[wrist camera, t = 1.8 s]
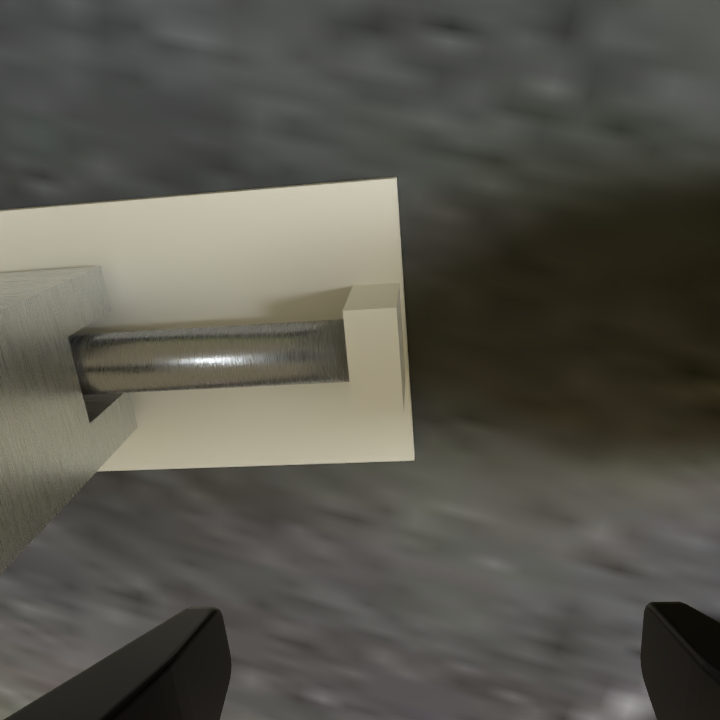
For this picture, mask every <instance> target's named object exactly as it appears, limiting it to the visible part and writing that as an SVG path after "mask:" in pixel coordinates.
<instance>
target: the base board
mask: <svg viewBox="0 0 720 720" xmlns="http://www.w3.org/2000/svg"><path fill="white" fill-rule="evenodd" d="M93 266H101V268H102V272H103V277H104V281H105V286H106V290H107V294H108V299H109V303H110V308H111V311H110V312H108V313H107V314H105V315H103V316H102V317H100V318H98V319H97V320H95V321H93V322H92V323H90V324H88V325H87V326H85V327H83V328H82V329H80V330H78V331H77V332H75V333H73V334H72V335H83V334H100V333H117V332H134V331H151V330H167V329H184V328H201V327H218V326H235V325H251V324H268V323H285V322H302V321H319V320H336V319H343V321H344V331H345V341H346V351H347V361H348V371H349V381H350V382H339V383H318V384H298V385H277V386H256V387H236V388H215V389H194V390H174V391H153V392H133V393H130V396H131V401H132V405H133V409H134V414H135V418H136V423H137V427H138V428H137V429H136V430H135V431H134V432H133V433H132V434H131V435H130V436H129V437H128V438H127V440H126V441H125V442H124V443H123V444H122V445H121V446H120V447H119V448H118V449H117V450H116V451H115V452H114V453H113V455H112V456H111V457H110V458H109V459H108V460H107V461H106V462H105V463H104V464H103V465H102V466H101V467H100V469H99V470H98V471H123V470H152V469H181V468H210V467H239V466H269V465H298V464H327V463H356V462H385V461H414V453H415V451H414V436H413V420H412V405H411V390H410V374H409V359H408V343H407V328H406V312H405V297H404V281H403V266H402V250H401V235H400V219H399V204H398V188H397V177H387V178H375V179H363V180H351V181H339V182H327V183H315V184H303V185H291V186H279V187H267V188H255V189H243V190H231V191H219V192H207V193H195V194H183V195H171V196H159V197H147V198H135V199H124V200H112V201H100V202H88V203H76V204H64V205H52V206H40V207H28V208H16V209H4V210H0V273H9V272H23V271H37V270H51V269H65V268H79V267H93Z"/></svg>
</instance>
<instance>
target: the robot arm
mask: <svg viewBox="0 0 720 720" xmlns="http://www.w3.org/2000/svg"><path fill="white" fill-rule="evenodd" d="M641 669H642V674H643V679H644V682H645V685H646V688H647V691H648V694H649V697H650V700H651V703H652V706H653V709H654V712H655V715H656V718H657V720H720V622H718V621H716V620H714V619H712V618H711V617H709V616H707V615H705V614H703V613H701V612H700V611H698V610H696V609H694V608H692V607H690V606H689V605H687V604H685V603H682V602H650V603H649V604H648V605H647V606H646V608H645V611H644V619H643V631H642V644H641ZM230 675H231V655H230V650H229V645H228V640H227V635H226V630H225V625H224V620H223V616H222V613H221V611H220V610H219V609H218V608H217V607H190V608H187V609H185V610H183V611H182V612H180V613H178V614H177V615H175V616H173V617H172V618H170V619H168V620H167V621H165V622H163V623H162V624H160V625H159V626H157V627H155V628H154V629H152V630H150V631H149V632H147V633H145V634H144V635H142V636H140V637H139V638H137V639H136V640H134V641H132V642H131V643H129V644H127V645H126V646H124V647H122V648H121V649H119V650H117V651H116V652H114V653H113V654H111V655H109V656H108V657H106V658H104V659H103V660H101V661H99V662H98V663H96V664H94V665H93V666H91V667H90V668H88V669H86V670H85V671H83V672H81V673H80V674H78V675H76V676H75V677H73V678H71V679H70V680H68V681H66V682H65V683H63V684H62V685H60V686H58V687H57V688H55V689H53V690H52V691H50V692H48V693H47V694H45V695H43V696H42V697H40V698H39V699H37V700H35V701H34V702H32V703H30V704H29V705H27V706H25V707H24V708H22V709H20V710H19V711H17V712H16V713H14V714H12V715H11V716H9V717H7V718H6V719H4V720H220V716H221V712H222V709H223V705H224V701H225V697H226V693H227V689H228V685H229V681H230Z"/></svg>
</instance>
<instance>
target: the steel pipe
mask: <svg viewBox="0 0 720 720" xmlns="http://www.w3.org/2000/svg"><path fill="white" fill-rule="evenodd" d="M68 340H69V344H70V348H71V352H72V356H73V359H74V363H75V367H76V371H77V375H78V379H79V383H80V387H81V391H82V395H91V394H112V393H133V392H153V391H174V390H194V389H215V388H236V387H256V386H277V385H298V384H318V383H339V382H350V381H349V371H348V361H347V351H346V341H345V331H344V321H343V319H336V320H319V321H302V322H285V323H268V324H251V325H235V326H218V327H201V328H184V329H167V330H151V331H134V332H117V333H100V334H83V335H70V336H68Z"/></svg>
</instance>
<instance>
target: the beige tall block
mask: <svg viewBox="0 0 720 720" xmlns="http://www.w3.org/2000/svg"><path fill="white" fill-rule="evenodd" d="M110 311H111V308H110V303H109V299H108V294H107V290H106V286H105V281H104V277H103V272H102V268H101V266H93V267H79V268H65V269H51V270H37V271H23V272H9V273H0V575H1V574H2V573H3V572H4V570H5V569H6V568H7V567H8V566H9V565H10V564H11V563H12V562H13V561H14V560H15V559H16V558H17V557H18V555H19V554H20V553H21V552H22V551H23V550H24V549H25V548H26V547H27V546H28V545H29V544H30V543H31V541H32V540H33V539H34V538H35V537H36V536H37V535H38V534H39V533H40V532H41V531H42V530H43V529H44V528H45V526H46V525H47V524H48V523H49V522H50V521H51V520H52V519H53V518H54V517H55V516H56V515H57V514H58V513H59V511H60V510H61V509H62V508H63V507H64V506H65V505H66V504H67V503H68V502H69V501H70V500H71V499H72V497H73V496H74V495H75V494H76V493H77V492H78V491H79V490H80V489H81V488H82V487H83V486H84V485H85V484H86V482H87V481H88V480H89V479H90V478H91V477H92V476H93V475H94V474H95V473H96V472H97V471H98V470H99V469H100V467H101V466H102V465H103V464H104V463H105V462H106V461H107V460H108V459H109V458H110V457H111V456H112V455H113V453H114V452H115V451H116V450H117V449H118V448H119V447H120V446H121V445H122V444H123V443H124V442H125V441H126V440H127V438H128V437H129V436H130V435H131V434H132V433H133V432H134V431H135V430H136V429H137V428H138V427H137V423H136V418H135V414H134V409H133V405H132V401H131V396H130V393H112V394H91V395H82V391H81V387H80V383H79V379H78V375H77V371H76V367H75V363H74V359H73V356H72V352H71V348H70V344H69V340H68V336H70V335H72V334H73V333H75V332H77V331H78V330H80V329H82V328H83V327H85V326H87V325H88V324H90V323H92V322H93V321H95V320H97V319H98V318H100V317H102V316H103V315H105V314H107V313H108V312H110Z"/></svg>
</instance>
